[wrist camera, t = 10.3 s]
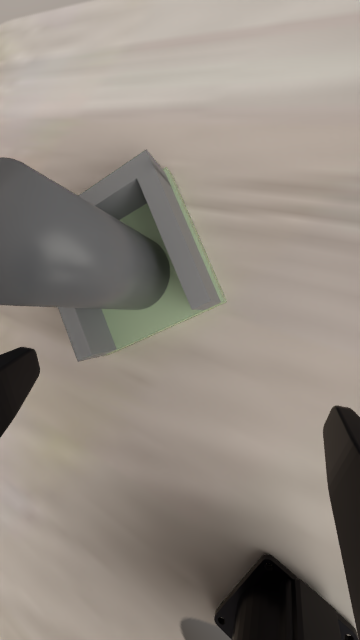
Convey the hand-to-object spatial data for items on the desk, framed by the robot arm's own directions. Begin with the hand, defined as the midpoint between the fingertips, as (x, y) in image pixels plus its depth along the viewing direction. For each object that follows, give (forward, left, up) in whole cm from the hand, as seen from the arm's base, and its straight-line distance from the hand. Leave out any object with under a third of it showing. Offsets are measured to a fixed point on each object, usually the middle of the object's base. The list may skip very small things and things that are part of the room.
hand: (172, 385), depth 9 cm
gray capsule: (0, +8, -11) cm, 14 cm away
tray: (+1, +9, -12) cm, 15 cm away
